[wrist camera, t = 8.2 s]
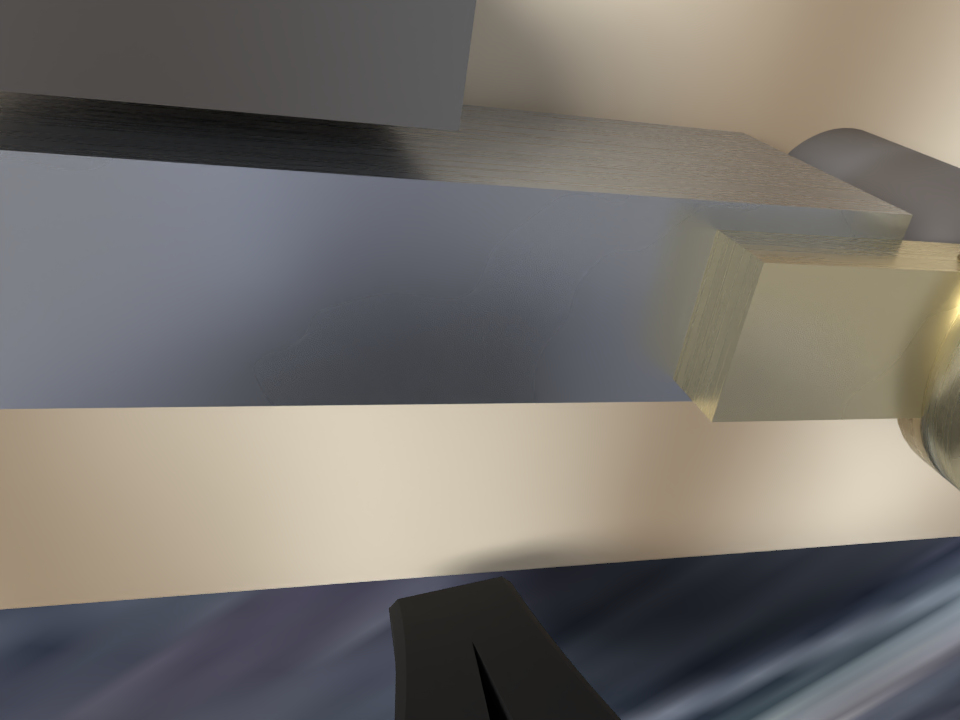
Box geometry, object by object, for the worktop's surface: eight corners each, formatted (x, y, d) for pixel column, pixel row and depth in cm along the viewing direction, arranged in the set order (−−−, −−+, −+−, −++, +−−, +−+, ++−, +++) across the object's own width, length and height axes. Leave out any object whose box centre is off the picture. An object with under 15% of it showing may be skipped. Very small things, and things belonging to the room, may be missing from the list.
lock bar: (996, 99, 9) (1353, 200, 6) (897, 335, 10) (1152, 508, 7) (-181, -51, 6) (-568, 11, 3) (-109, 319, 7) (-326, 608, 4)
